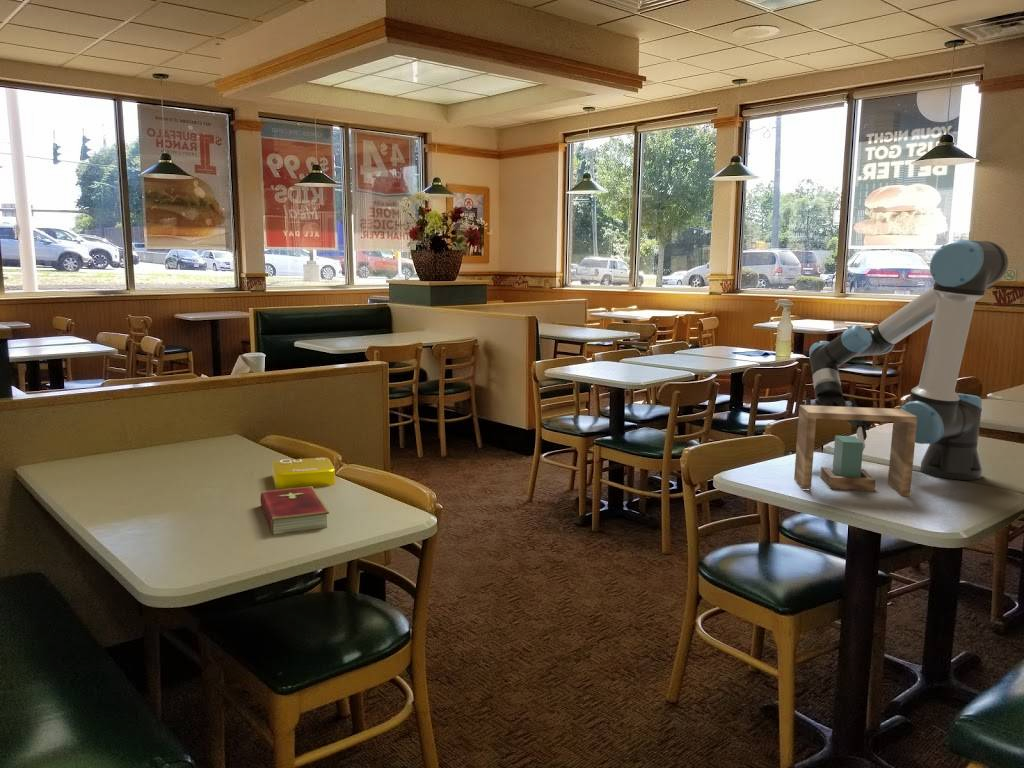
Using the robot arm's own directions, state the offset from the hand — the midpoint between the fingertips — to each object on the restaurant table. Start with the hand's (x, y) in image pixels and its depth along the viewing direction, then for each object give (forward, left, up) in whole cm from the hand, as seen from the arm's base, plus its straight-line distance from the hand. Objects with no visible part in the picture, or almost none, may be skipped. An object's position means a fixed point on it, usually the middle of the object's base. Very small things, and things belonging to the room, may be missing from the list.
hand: (837, 447), depth 217 cm
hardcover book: (+118, +88, -8) cm, 148 cm away
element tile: (+133, +62, -8) cm, 147 cm away
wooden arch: (-2, +14, -7) cm, 16 cm away
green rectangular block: (-2, +11, -7) cm, 13 cm away
